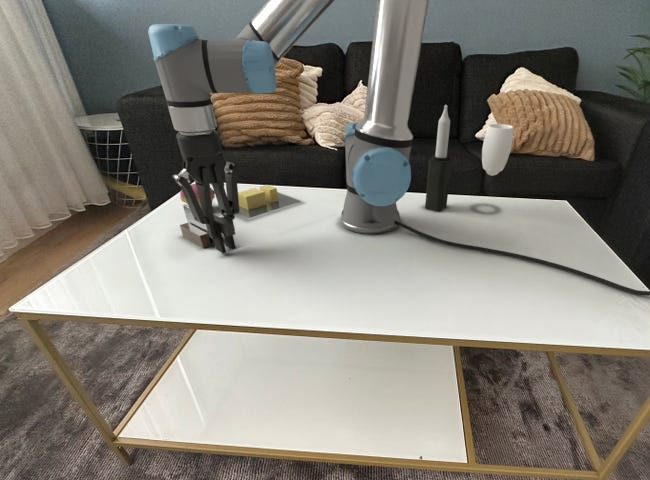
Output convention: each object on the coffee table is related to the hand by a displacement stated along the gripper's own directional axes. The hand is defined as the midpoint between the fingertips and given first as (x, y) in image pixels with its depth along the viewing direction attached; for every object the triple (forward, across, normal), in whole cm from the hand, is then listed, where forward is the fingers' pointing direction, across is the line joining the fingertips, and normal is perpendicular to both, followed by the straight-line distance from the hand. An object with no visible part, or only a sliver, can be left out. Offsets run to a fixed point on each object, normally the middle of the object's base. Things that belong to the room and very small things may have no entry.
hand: (226, 248), depth 91 cm
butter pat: (0, -26, -19) cm, 32 cm away
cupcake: (+1, -9, -26) cm, 28 cm away
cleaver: (+1, 0, -5) cm, 5 cm away
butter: (0, -20, -19) cm, 28 cm away
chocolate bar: (+1, 0, -10) cm, 10 cm away
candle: (+1, -56, +18) cm, 59 cm away
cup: (+1, -65, +29) cm, 71 cm away
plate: (+1, -23, -19) cm, 30 cm away
